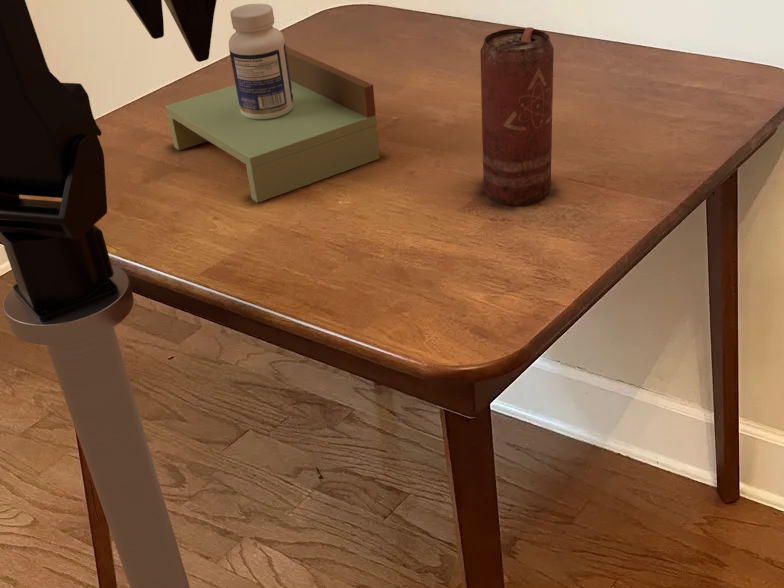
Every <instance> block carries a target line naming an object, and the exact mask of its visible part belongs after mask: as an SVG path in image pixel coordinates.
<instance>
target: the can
mask: <svg viewBox="0 0 784 588" xmlns="http://www.w3.org/2000/svg"><path fill="white" fill-rule="evenodd" d="M479 51H480V54H479V55H480V88H481V89H480V91H481V93H480V94H481V97H480V98H481V139H482V181H483V182H482V183H483V192H484V193H485V194H486V195H487V197H488V198H489V199H490V200H491V201H492V202H495V203H496V204H499V205H505V206H514V207H516V206H517V207H518V206H526V205H532V204H534V203H537V202H539V201H541V200H542V199H544V198H545V197H546V196H547V194H548V193H549V191H550V189H551V187H552V186H551V185H552V150H553V149H552V148H553V144H552V143H553V141H552V139H553V98H554V96H553V95H554V56H555V55H554V51H555V50H554V46H553V43H552V41H551V39H550V35H549V34H548V33H547V32H545V31H543V30H539V29H535V28H534V27H532V26H531V27H530V26H529V27H526V28H520V27H519V28H518V27H517V28H507V29H501V30H497V31H494V32H491V33H490V34H488V35H487V36H485V38H484V40H483V44H482V45H481V48H480V49H479Z"/></svg>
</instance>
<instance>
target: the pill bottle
mask: <svg viewBox="0 0 784 588" xmlns="http://www.w3.org/2000/svg"><path fill="white" fill-rule="evenodd" d="M230 19H231V20H230V21H231V25H232V29H233V30H234V31H235V32H234V33H232V35H230V37H229V39H228V51H229V56H230V62H231V67H232V72H233V73H232V74H233V78H234V83H235V84H234V85H236V90H237V95H238V101H239V106H240V111H241V113H242V114H243V115H244V116H245V117H247V118H250V119H272V118H277V117H280V116H283V115H285V114H287V113H288V112H290V111H291V110H292V108H293V105H294V101H293V93H292V87H291V80H290V73H289V66H288V60H287V52H286V40H285V36H284V34H283V32H282V31H281V30H279V29H278V28H277V27H274V25H275V15H274V9H273V7H272V5H270V4H267V3H249V4H248V3H247V4H243V5H240V6H237V7H235V8H233V9H231V10H230Z"/></svg>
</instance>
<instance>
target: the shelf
mask: <svg viewBox="0 0 784 588" xmlns="http://www.w3.org/2000/svg"><path fill="white" fill-rule="evenodd" d="M286 52H287V60H288V66H289V73H290V80H291V87H292V93H293V101H294V105H293V108H292V110H291V111H290V112H288V113H287V114H285V115H283V116H280V117H277V118H272V119H250V118H247V117H245V116H244V115H243V114H242V113H241V111H240V106H239V101H238V95H237V90H236V84H233V85H230V86H227V87H226V86H225V87H224V88H220V89H217V90H213V91H209V92H207V93H203V94H200V95H196V96H193V97H190V98H187V99H184V100H180V101H176V102H174V103H171V104H168V105H165V112H166V115H167V120H168V124H169V129H170V134H171V139H172V144H173V147H174V148H175V149H176V150H177V151H182V150H185V149H189V148H191V147H194V146H197V145H201V144H204V143H206V142H209V143H211V144H212V145H213V146H216V147H217V148H218V149H220V150H222V151H224V152H225V153H227V154H229V155H230V156H231V157H233V158H235V159H236V160H238V161H239V162H241V163H243V164H245V168H246V174H247V179H248V184H249V190H250V197H251V199H252V201H254V202H256V203H257V204H259V203H262V202H265V201H268V200H271V199H273V198H275V197H278V196H281V195H284V194H286V193H289V192H292V191H295V190H297V189H300V188H303V187H306V186H308V185H311V184H314V183H317V182H320V181H322V180H326V179H327V178H330V177H333V176H335V175H338V174H341V173H344V172H347V171H350V170H353V169H355V168H358V167H361V166H364V165H366V164H369V163H371V162H374V161H375V162H376V161H378V160H380V157H381V156H380V147H379V137H378V125H377V124H378V123H377V115H376V103H375V92H374V91H375V90H374V85H373V84H372V83H369V82H368V81H365V80H363V79H361V78H359V77H356V76H355V75H352V74H349V73H347V72H345V71H343V70H340V69H338V68H336V67H334V66H331V65H329V64H327V63H325V62H323V61H321V60H318V59H316V58H314V57H311V56H308V55H307V54H304V53H302V52H300V51H298V50H296V49H293V48H291V47H289V46H286Z"/></svg>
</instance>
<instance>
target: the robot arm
mask: <svg viewBox="0 0 784 588" xmlns="http://www.w3.org/2000/svg"><path fill="white" fill-rule="evenodd" d="M163 1H164V3H165V5H166V7H167V9H168V11H169V12H170V15H171V16H172V19H173V20H174V22H175V24H176V26H177V28H178V30H179V32H180V34H181V36H182V39H183V40H184V42H185V43H186V45H187V47H188V49H189V51H190V53H191V54H192V56H193V58H194V60H195V61H197V62H198V63H200V62H206V61H208V60H209V58H210V54H211V53H210V52H211V51H210V50H211V44H212V43H211V42H212V35H213V27H214V19H215V12H216V7H217V6H216V5H217V2H218V1H217V0H126V2H127V4H128V5H129V6H130V8H131V9H132V10H133V12H134V13H135V15H136V17H137V18H138V19H139V21H140V23H141V24H142V25H143V27H144V29H145V30H146V32H147V33H148V34H149V35H150V37H151V38H152V39H154V40H157V39H161V38H163V37H164V36H165V25H164V24H165V23H164V22H165V21H164V11H163ZM39 40H40V39H39V37H38V34H37V32H36V28H35V25H34V23H33V20H32V17H31V14H30V11H29V8H28V4H27V1H26V0H0V240H1V242H2V245H3V248H4V251H5V253H6V257H7V259H8V263H9V265H10V268H11V271H12V274H13V276H14V279H15V283H14V285H13V286H12V287H13V289H14V292H15V293H16V294H17V296H18V297H19V298H20V299H21V300H22V301H23V303H24V304H25V305H26V306H27V307H28V308H29V309H30V311H31V312H32V313H33V314H34V315H35V316H36V318H37V319H38V320H39V321H48V320H50V319H53V318H55V317H58V316H61V315H63V314H66V313H69V312H71V311H74V310H76V309H79V308H82V307H84V306H87V305H90V304H92V303H95V302H97V301H100V300H103V299H105V298H108V297H111V296H113V295H115V294H117V293H118V292H119V291H118V287H117V285H116V284H114V283H113V282H112V281H111V280H110V279H109V278H111V277H113V274H114V272H113V269H112V265H111V264H112V263H111V258H110V255H109V251H108V248H107V244H106V241H105V237H104V234H103V231H102V230H101V228H99V227H98V226H97V225H96V224H97V223H98V222H99V221H100V220H102V218H104V216H106V214H107V213H108V199H107V185H106V183H107V182H106V168H105V165H106V164H105V155H104V150H103V147H102V145H101V141H100V139H99V137H101V136H102V134H103V133H102V130H101V129H100V126H98V124H97V122H96V120H95V117H94V115H93V110H92V107H91V102H90V96H89V94H88V92H87V90H86V89H85V88H84V86H83V84H82V83H78V82H61V81H60V80H59V79H58V78H57V77H56V76H55V75H54V74H53V73H52V72H51V70H50V68H49V66H48V63H47V61H46V58H45V55H44V52H43V49H42V46H41V43H40V41H39ZM20 196H27V197H28V196H31V197H41V198H42V197H43V198H56V199H61V201H59V200H47V199H32V198H21V197H20Z"/></svg>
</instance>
